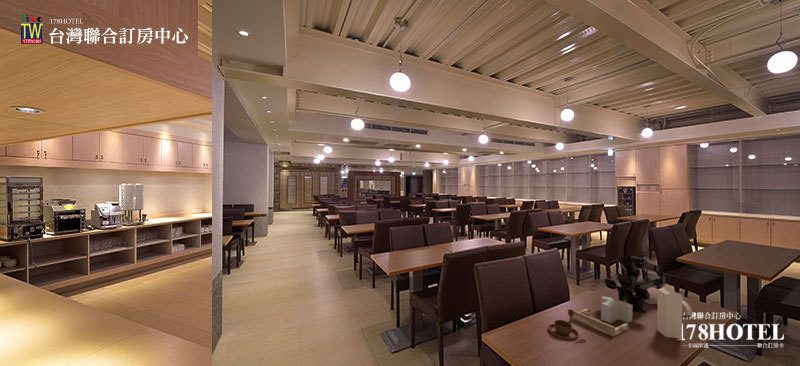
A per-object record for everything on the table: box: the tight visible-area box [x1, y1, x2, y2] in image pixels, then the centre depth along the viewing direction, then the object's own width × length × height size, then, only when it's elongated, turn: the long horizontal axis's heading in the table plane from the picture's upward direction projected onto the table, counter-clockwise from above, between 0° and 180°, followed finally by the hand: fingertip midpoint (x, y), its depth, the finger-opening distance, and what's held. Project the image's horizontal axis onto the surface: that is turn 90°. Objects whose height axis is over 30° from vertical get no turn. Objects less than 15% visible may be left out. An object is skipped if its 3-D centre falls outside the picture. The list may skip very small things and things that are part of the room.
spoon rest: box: [643, 292, 693, 317], centre depth 156 cm, size 24×12×7 cm, turn 24°
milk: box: [656, 283, 683, 340], centre depth 127 cm, size 6×6×22 cm
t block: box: [600, 295, 633, 324], centre depth 142 cm, size 12×12×8 cm
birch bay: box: [572, 308, 629, 337], centre depth 136 cm, size 13×18×4 cm
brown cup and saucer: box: [547, 309, 586, 344], centre depth 129 cm, size 18×20×6 cm
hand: (620, 302), depth 145 cm, fingers closed
